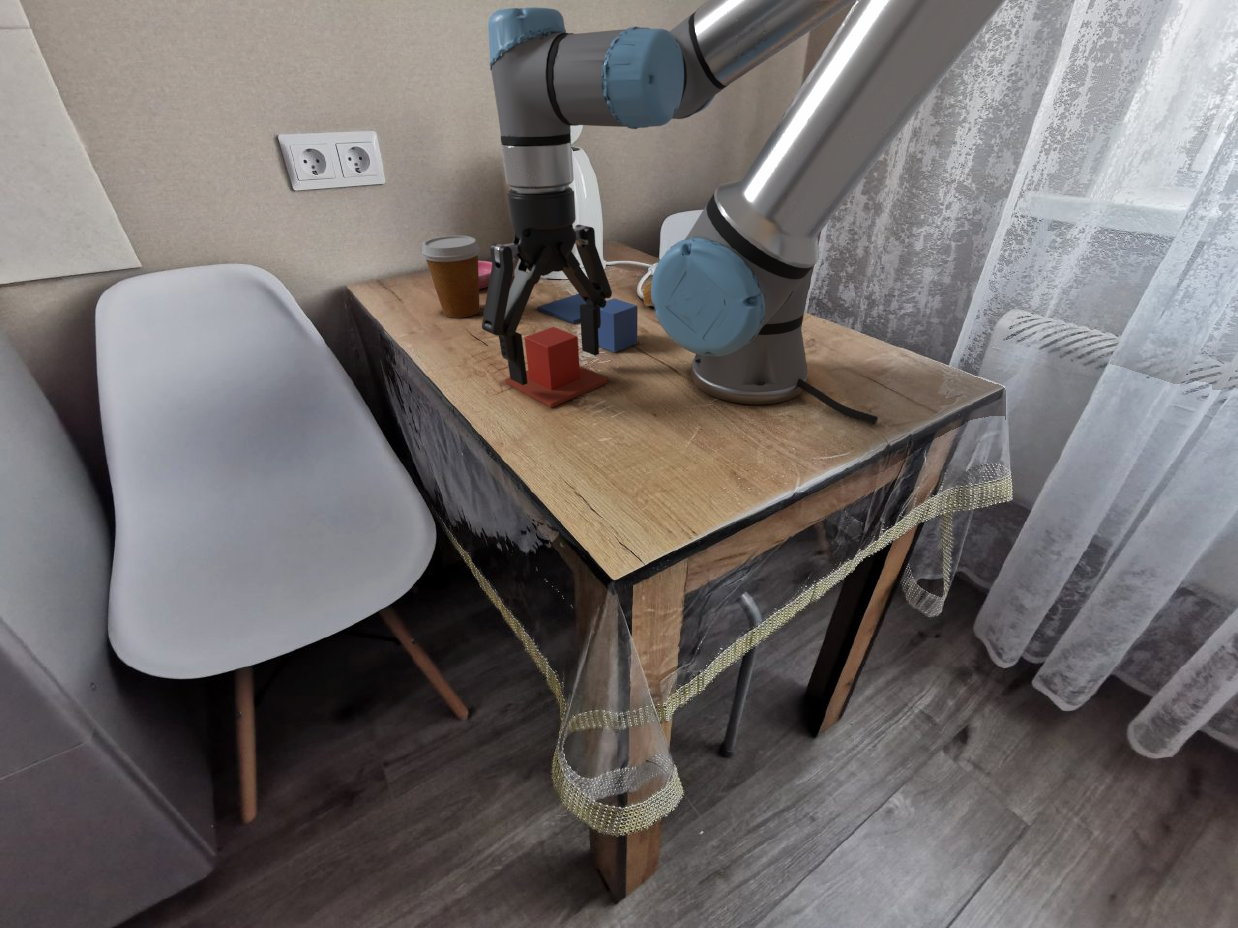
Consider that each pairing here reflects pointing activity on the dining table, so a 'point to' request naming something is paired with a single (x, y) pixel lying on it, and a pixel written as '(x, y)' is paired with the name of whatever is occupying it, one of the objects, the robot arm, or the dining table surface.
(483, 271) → the pink bowl
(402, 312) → the dining table surface
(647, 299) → the pastry
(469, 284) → the disposable coffee cup
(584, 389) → the red mat
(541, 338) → the red block
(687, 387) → the dining table surface
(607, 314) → the blue block
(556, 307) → the blue mat
